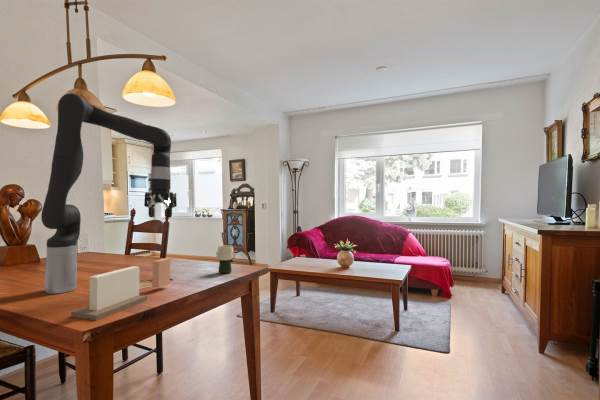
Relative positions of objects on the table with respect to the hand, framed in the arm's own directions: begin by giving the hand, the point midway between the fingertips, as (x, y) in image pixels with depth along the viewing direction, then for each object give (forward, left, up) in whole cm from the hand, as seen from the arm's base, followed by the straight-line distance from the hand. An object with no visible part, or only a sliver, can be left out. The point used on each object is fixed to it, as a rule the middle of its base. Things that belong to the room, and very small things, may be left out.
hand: (160, 217), depth 125 cm
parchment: (-7, -2, -29) cm, 30 cm away
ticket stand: (+5, -27, -28) cm, 39 cm away
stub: (+5, -5, -27) cm, 27 cm away
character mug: (+14, +28, -28) cm, 42 cm away
